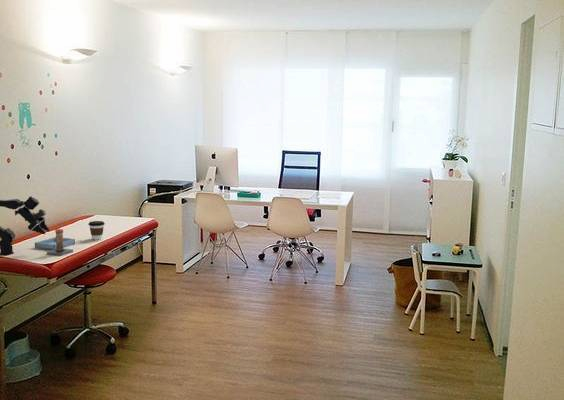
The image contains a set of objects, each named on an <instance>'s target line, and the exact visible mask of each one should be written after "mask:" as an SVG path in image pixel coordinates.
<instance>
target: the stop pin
mask: <svg viewBox="0 0 564 400" xmlns="http://www.w3.org/2000/svg"><path fill="white" fill-rule="evenodd" d="M54 232H55V237H56V248H57V252H62V251H63V248H64V247H63V238H64V228H57V229H55V231H54Z"/></svg>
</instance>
